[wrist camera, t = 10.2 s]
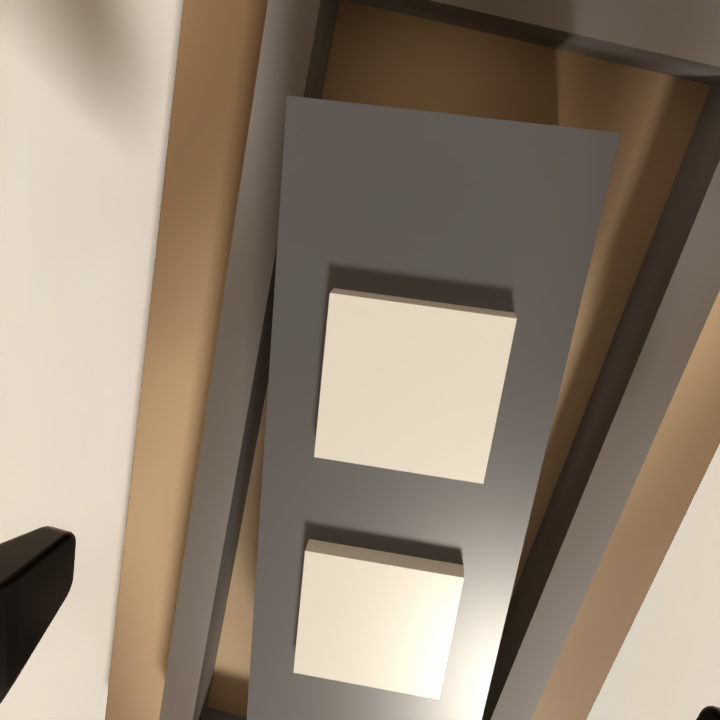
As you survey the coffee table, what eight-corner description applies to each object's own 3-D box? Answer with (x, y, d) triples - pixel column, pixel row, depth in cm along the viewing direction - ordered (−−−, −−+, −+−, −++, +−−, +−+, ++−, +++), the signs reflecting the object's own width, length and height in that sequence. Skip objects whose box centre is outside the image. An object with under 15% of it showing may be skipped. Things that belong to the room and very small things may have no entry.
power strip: (559, 137, 11) (635, 132, 7) (438, 720, 16) (438, 938, 11) (337, 112, 11) (274, 91, 7) (285, 690, 16) (228, 892, 12)
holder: (909, -30, 10) (1047, -82, 8) (513, 825, 18) (523, 927, 16) (227, -182, 11) (168, -272, 9) (119, 713, 18) (72, 796, 16)
